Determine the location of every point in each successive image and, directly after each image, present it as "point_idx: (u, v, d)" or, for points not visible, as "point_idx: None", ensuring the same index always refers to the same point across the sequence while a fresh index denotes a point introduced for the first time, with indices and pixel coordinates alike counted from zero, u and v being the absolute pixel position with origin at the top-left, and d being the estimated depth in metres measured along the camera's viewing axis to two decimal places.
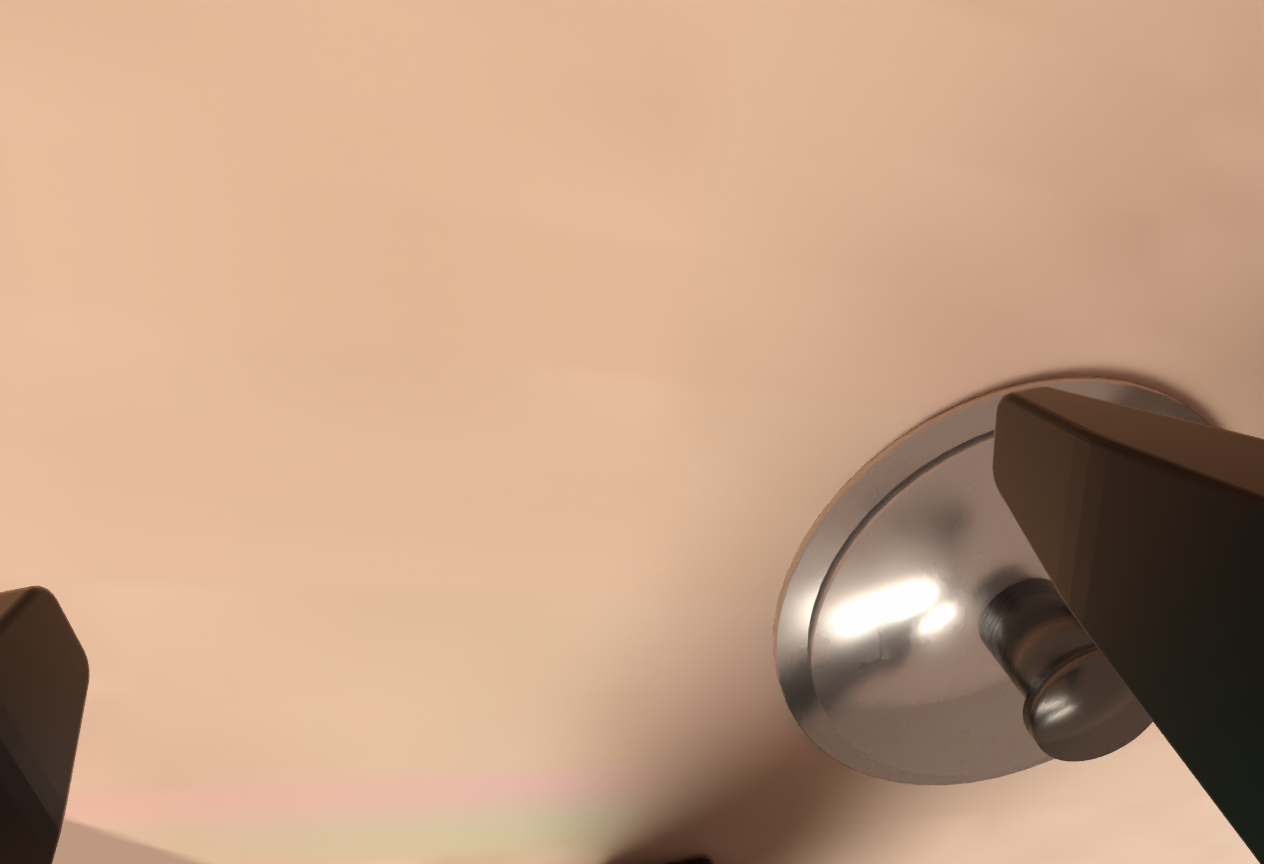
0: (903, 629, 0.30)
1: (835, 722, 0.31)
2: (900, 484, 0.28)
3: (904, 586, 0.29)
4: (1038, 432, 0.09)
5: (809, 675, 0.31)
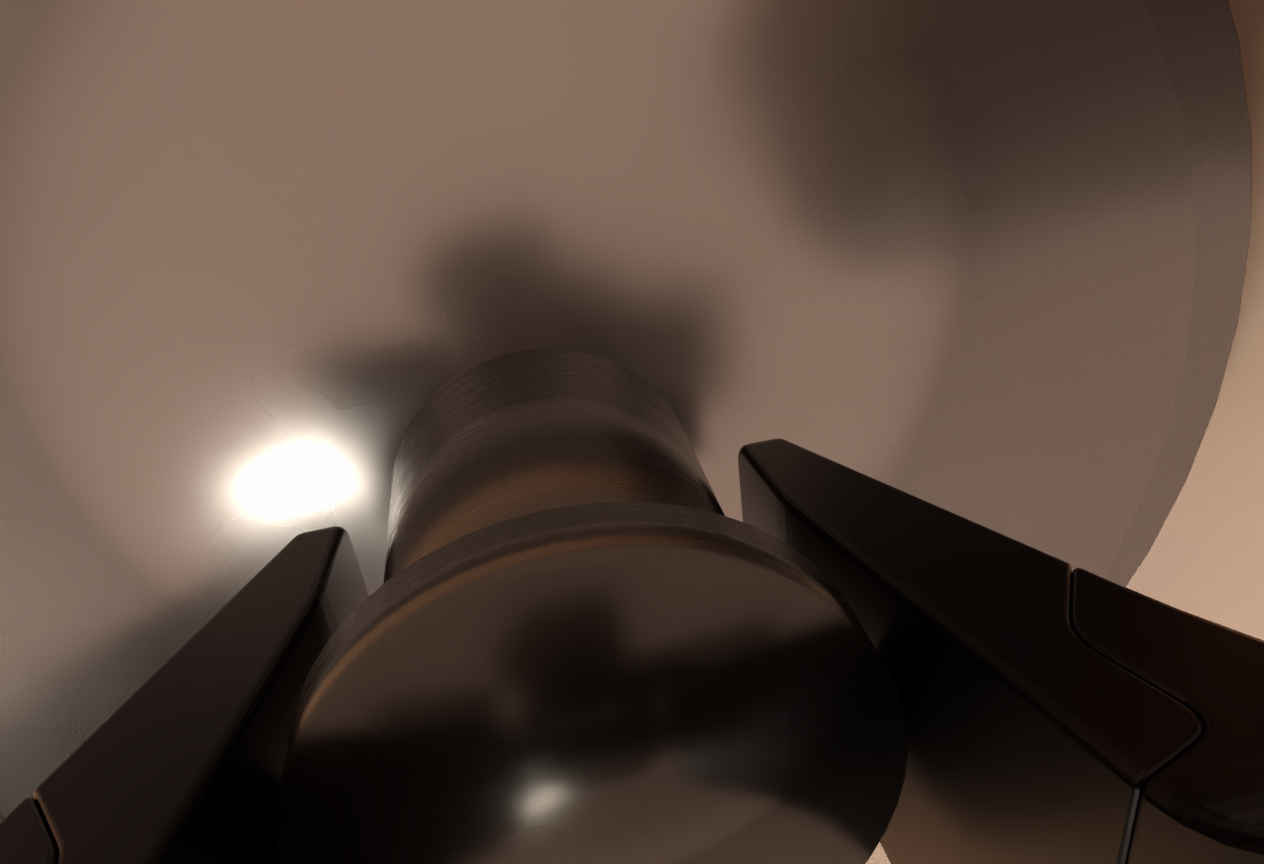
0: (112, 521, 0.09)
1: None
2: None
3: (31, 356, 0.08)
4: (759, 488, 0.08)
5: None
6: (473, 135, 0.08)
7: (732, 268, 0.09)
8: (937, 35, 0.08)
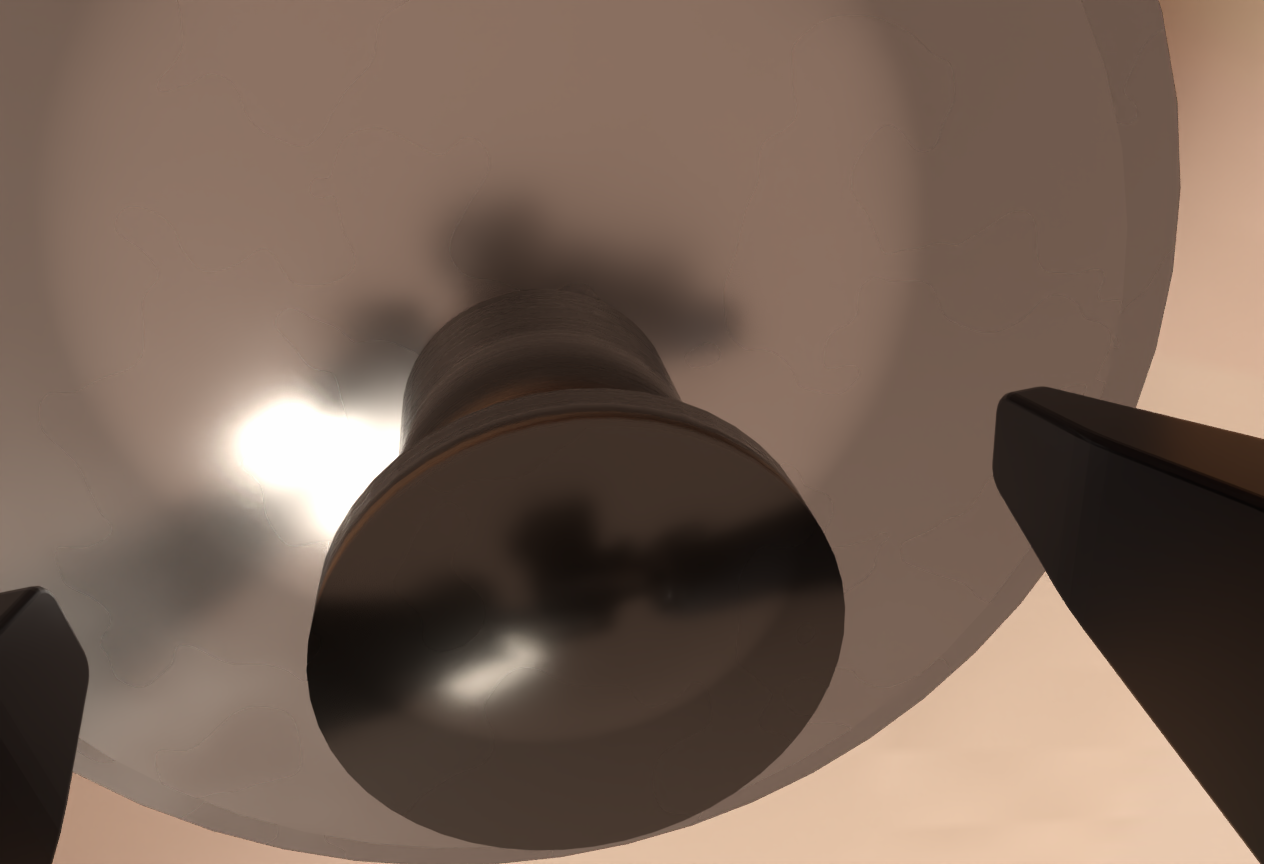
0: (154, 445, 0.10)
1: None
2: None
3: (85, 292, 0.09)
4: (1038, 430, 0.09)
5: None
6: (472, 94, 0.09)
7: (705, 215, 0.10)
8: (883, 4, 0.09)
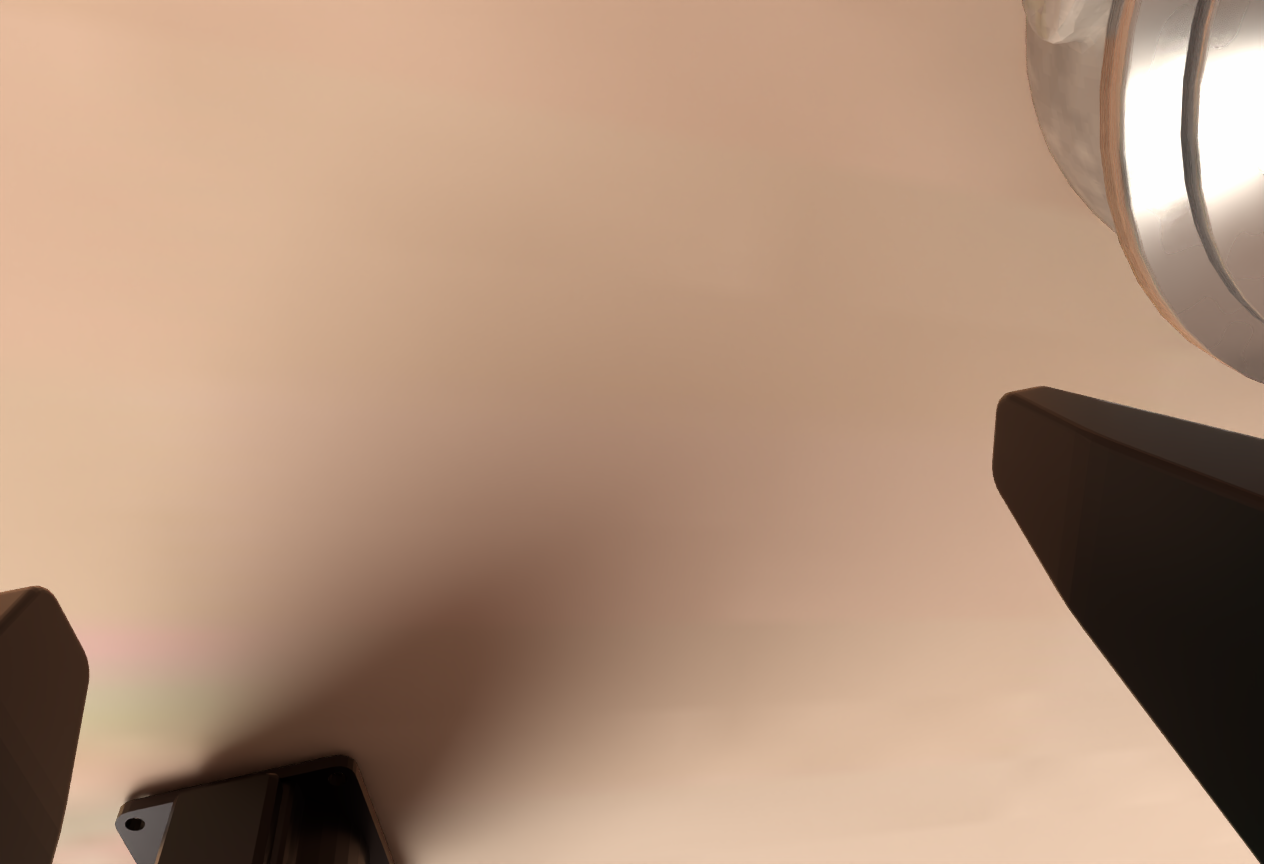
0: None
1: (1211, 193, 0.17)
2: None
3: None
4: (1038, 432, 0.09)
5: (1181, 84, 0.16)
6: None
7: None
8: None
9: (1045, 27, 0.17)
